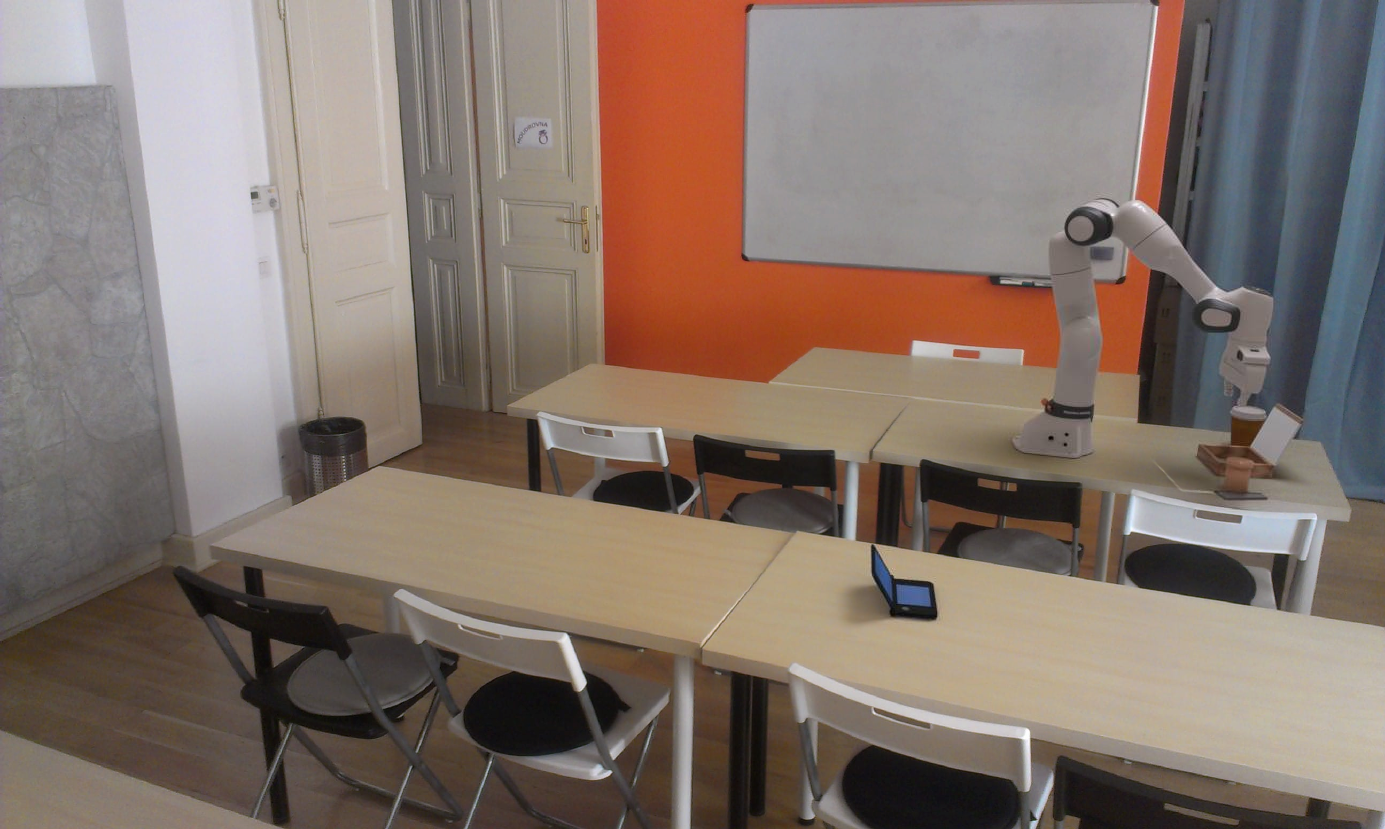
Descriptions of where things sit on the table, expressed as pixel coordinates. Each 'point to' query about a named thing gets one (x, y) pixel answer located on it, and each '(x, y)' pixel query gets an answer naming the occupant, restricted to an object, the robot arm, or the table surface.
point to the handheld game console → (903, 592)
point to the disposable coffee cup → (1245, 424)
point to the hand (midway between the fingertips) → (1234, 400)
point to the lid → (1276, 434)
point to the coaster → (1241, 496)
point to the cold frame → (1218, 455)
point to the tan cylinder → (1238, 474)
